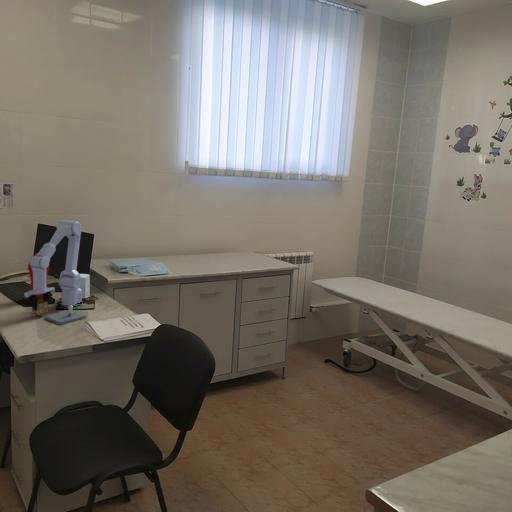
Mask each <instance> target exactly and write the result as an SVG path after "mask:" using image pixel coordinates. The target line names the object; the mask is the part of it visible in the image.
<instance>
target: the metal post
mask: <svg viewBox="0 0 512 512" xmlns="http://www.w3.org/2000/svg"><path fill="white" fill-rule="evenodd" d="M67 309H68V310H67V311H68V316H73V311H74V310H73V309H74V307H73V306H72V305H69V306H68V308H67Z"/></svg>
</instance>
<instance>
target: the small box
mask: <svg viewBox="0 0 512 512" xmlns="http://www.w3.org/2000/svg"><path fill="white" fill-rule="evenodd" d="M79 274H80V280H81V284H80V287H79V288H80V289H81V290H82V298H87V297H89V298H90V296H91V295H90V294H91V293H90V291H91V289H90V288H91V287H90V286H91V285H90V283H91V282H90V280H91V279H90V278H91V277H90V274H89V273H88V274H87V273H79Z"/></svg>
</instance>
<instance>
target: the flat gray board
mask: <svg viewBox="0 0 512 512" xmlns="http://www.w3.org/2000/svg"><path fill="white" fill-rule="evenodd" d="M86 318H87V315H86V314H83V313H80V312H76V311H74V310H73V316H68V310H66V311H62V312H61V311H60V312H58V313H54V314H52V313H51V314H49V315H44V320H47V321H49V322H52V323H54V324H57V325H64V324H69V323H72V322H76V321H80V320H84V319H86Z"/></svg>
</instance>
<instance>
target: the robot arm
mask: <svg viewBox="0 0 512 512" xmlns="http://www.w3.org/2000/svg"><path fill="white" fill-rule="evenodd" d="M82 227H83V225H82V224H81V223H80V222H79V221H77V220H66V219H60V220H59V222H58V223H57V224H56V230H55V232H54V234H53V235H52V237H51V239H50V241H49V242H47V243H44V244H43V246H42V247H41V249H40V250H39V251H38V252H37V253H38V254H37V256H34V255H33V256H32V257H31V258H30V260H29V263H30V266H31V267H32V271H33V290H31V291H29V290H28V291H26V292H24V297H25V298H27V299H28V300H29V302H30V304H31V307H32V308H33V310H35V311H36V310H37V300H38V297H36V296H35V295H39V294H42V297H43V301H46V302H48V304H49V303H50V300H51V298H52V296H53V293H55V292H56V290H55V289H56V288H55V287H53V286H52V287H49V288H46V268H47V267H48V266H49V267H50V261H51V258H52V256H53V255H54V254H55V252H56V251H57V249H56V247H57V245H59V243H60V242H61V241H62V240H63V238H64V237H67V239H68V243H67V251H66V258H65V265H64V266H65V268H64V270H62V271H61V272H60V275H59V278H58V280H57V284H58V286H59V287H60V289H61V304H63V305H75V304H77V303H80V302H82V303H83V301H82V290H81V289H80V288H79V287H80V284H81V280H80V274H81V273H79V272H78V271H77V267H78V261H79V251H80V243H81V236H82V230H83V229H82ZM32 308H31V309H32Z"/></svg>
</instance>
